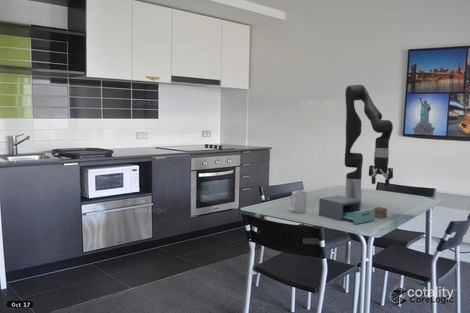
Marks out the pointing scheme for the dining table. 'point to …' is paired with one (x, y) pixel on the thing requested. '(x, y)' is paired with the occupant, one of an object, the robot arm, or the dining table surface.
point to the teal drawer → (360, 215)
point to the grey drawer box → (338, 206)
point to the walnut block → (380, 212)
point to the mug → (299, 201)
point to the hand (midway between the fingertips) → (380, 185)
